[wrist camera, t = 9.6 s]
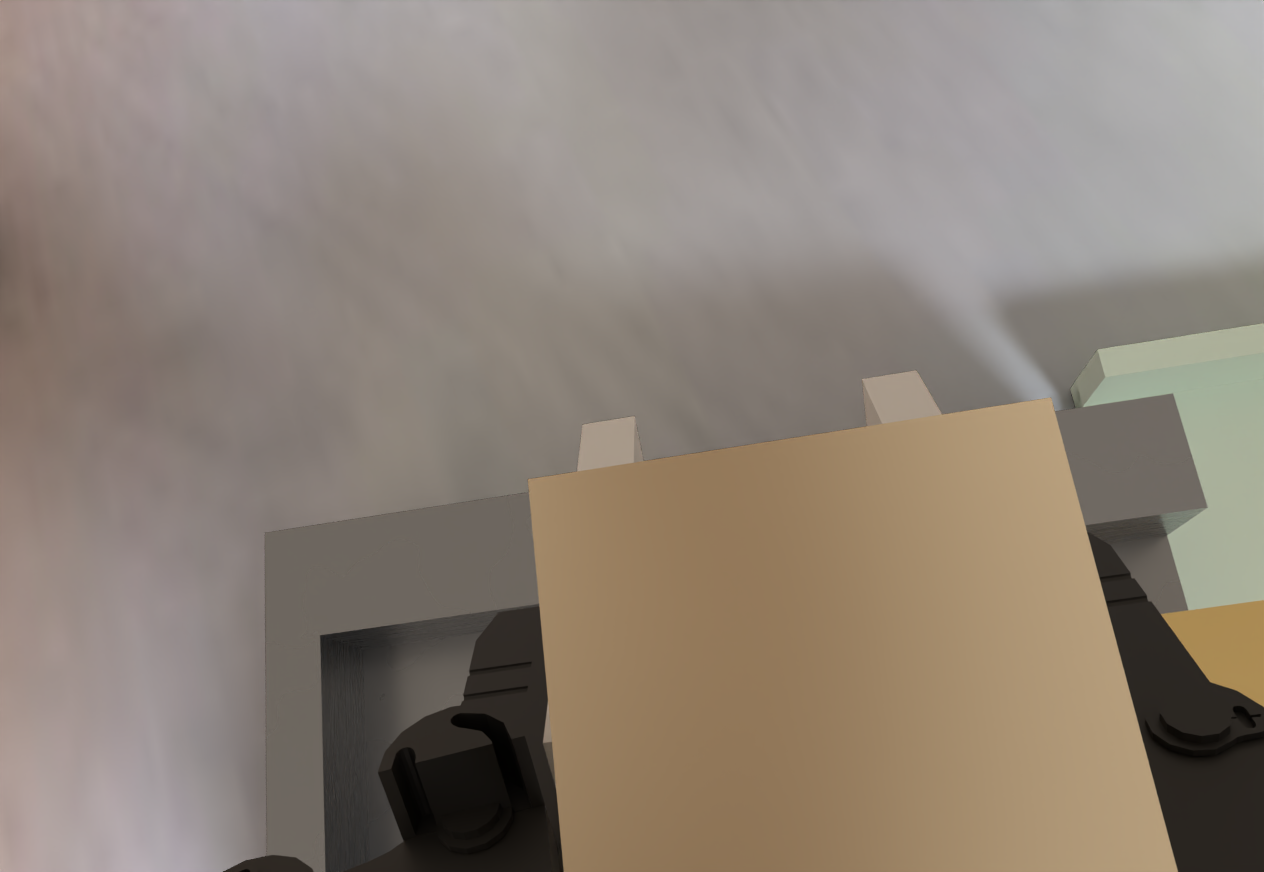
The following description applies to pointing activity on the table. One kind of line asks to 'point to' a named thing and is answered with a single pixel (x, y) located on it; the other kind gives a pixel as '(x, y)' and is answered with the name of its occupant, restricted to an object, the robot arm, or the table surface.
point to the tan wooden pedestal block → (840, 659)
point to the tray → (1204, 447)
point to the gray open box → (506, 580)
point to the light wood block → (1226, 644)
